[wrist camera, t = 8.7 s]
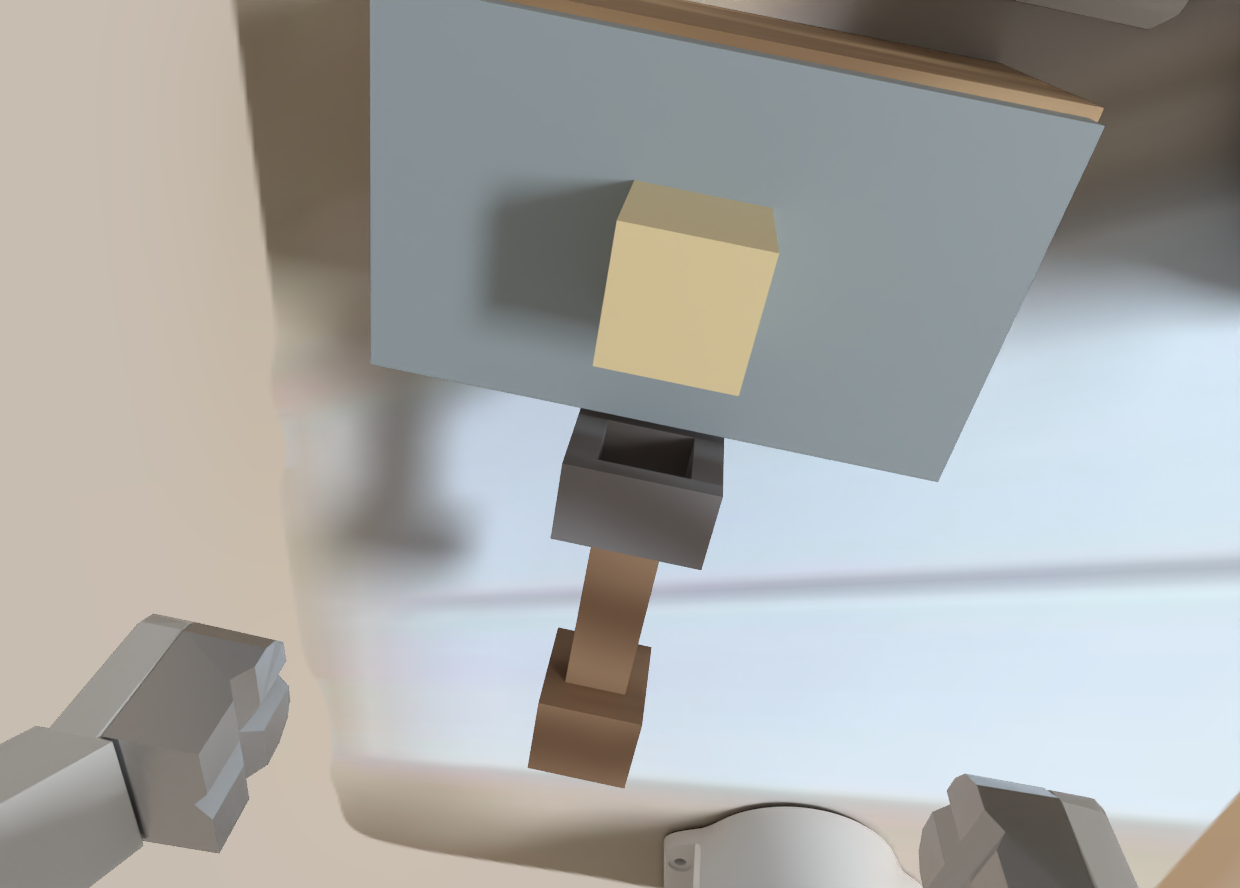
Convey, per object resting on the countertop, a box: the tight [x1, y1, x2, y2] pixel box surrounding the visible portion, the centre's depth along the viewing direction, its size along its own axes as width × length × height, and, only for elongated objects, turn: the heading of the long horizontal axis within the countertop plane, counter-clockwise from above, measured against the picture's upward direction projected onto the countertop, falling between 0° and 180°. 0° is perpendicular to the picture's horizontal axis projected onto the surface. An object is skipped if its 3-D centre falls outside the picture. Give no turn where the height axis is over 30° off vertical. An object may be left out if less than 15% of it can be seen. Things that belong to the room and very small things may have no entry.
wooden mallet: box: [528, 547, 659, 788], centre depth 31 cm, size 11×4×4 cm, turn 170°
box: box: [503, 0, 1104, 570], centre depth 28 cm, size 15×20×14 cm
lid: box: [370, 0, 1105, 482], centre depth 23 cm, size 11×19×6 cm, turn 80°
